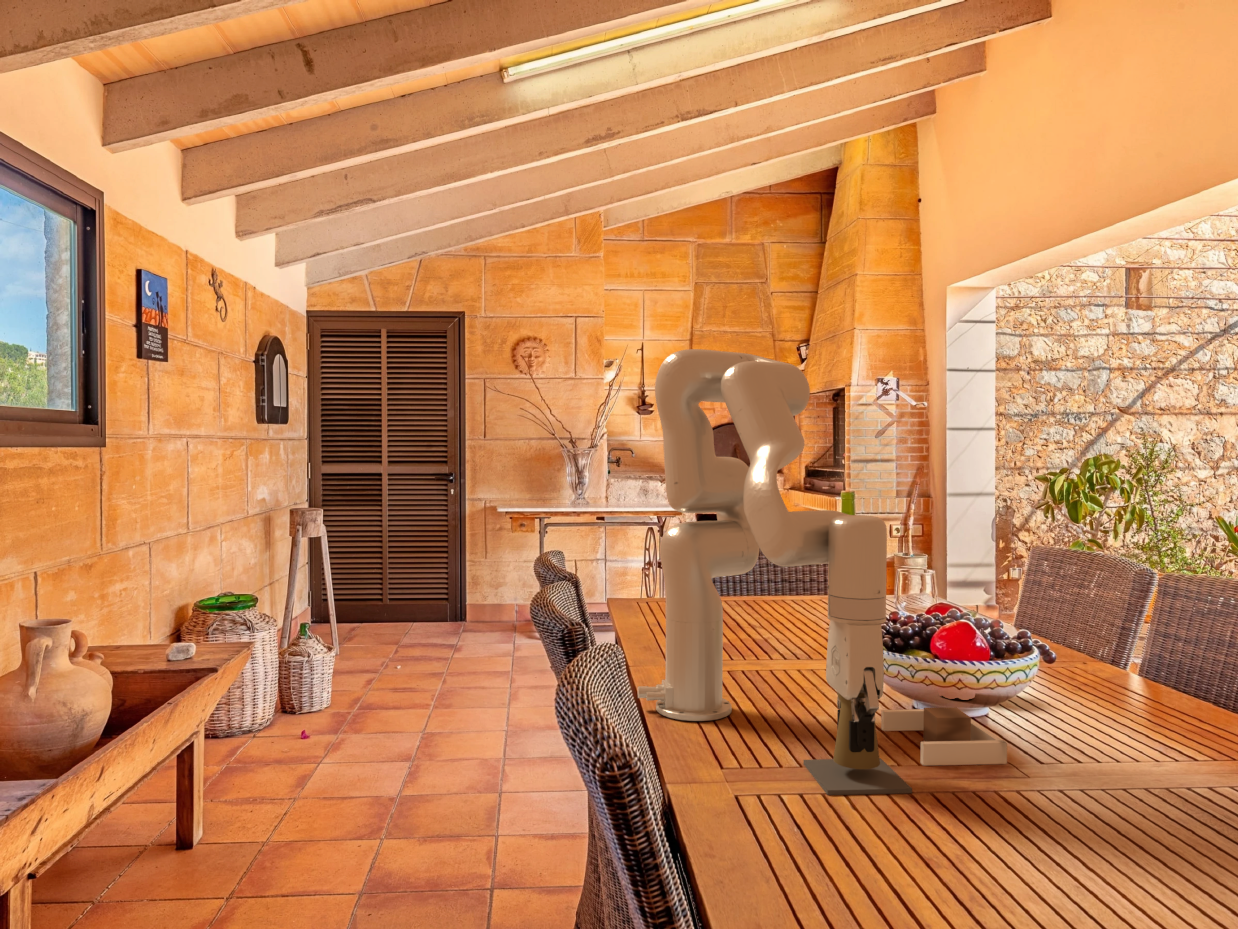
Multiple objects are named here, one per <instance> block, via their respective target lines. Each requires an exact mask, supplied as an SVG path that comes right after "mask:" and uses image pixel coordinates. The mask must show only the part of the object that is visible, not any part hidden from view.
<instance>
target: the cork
mask: <svg viewBox="0 0 1238 929" xmlns="http://www.w3.org/2000/svg"><path fill="white" fill-rule="evenodd" d="M836 694H837V697H838V698H839V700H840V701H841V709H839V710H840V716H839V723H838V730H837V731H836V739H835V746H834V751H833V758H832V759H833V760H834V762H836V763H837V764H839V765H841V766H844V767H848V768H853V769H872V768H876V767H878V766H879V765H880V759H879V758H880V752H879V743H878V735H877V727H876V724H875V725H874V751H873V752H867V751H866V750H865V748H864V749H863V750H862V751H861V752H851V751H850V750H849V721H852V709H851V700H846V699H845V698H844V697H843V696H841V695H840V694H839V693H838V692H837V691H836ZM857 697H865V694H864V693H859V694H858V696H857ZM864 703H865V702H861V703H858V710H859V708H860V706H861V705H864Z"/></svg>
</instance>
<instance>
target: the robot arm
mask: <svg viewBox="0 0 1238 929" xmlns="http://www.w3.org/2000/svg"><path fill="white" fill-rule="evenodd" d="M810 391H811V388H810V382H809V381H808V378H807V377H806V375H805V373H804V372H803V371H802V370H801V369H800V368H799V367H797V366H795V365H794V364H791V363H787V362H783V361H780V360H775V359H771V358H768V357H764V356H760V355H756V354H751V353H746V352H745V353H744V352H736V351H735V352H734V351H726V350H725V351H721V350H712V349H701V348H692V349H691V348H689V349H682V350H681V349H680V350H677V351H674V352H672V353H670V354H669V355H667V356H666V358H664V360H663V361H662V363H661V364H660V366H659V369H658V370H657V374H656V377H655V383H654V394H655V396H654V397H655V403H656V408H657V412H658V416H659V419H660V420H659V421H660V425H661V428H662V441H663V442H662V443H663V444H662V445H663V446H662V447H663V464H664V480H665V491H666V492H665V493H666V499H667V501H668V504H669V506H670V507H671V508H672V509H673V510H674V511H676V512H679V513H684V514H709V513H710V514H711V513H716V519H717V520H699V521H698V520H697V521H695V520H694V521H686V522H681V523H680V522H679V523H677V524H674V525H672V526H671V527H669V528H668V529H667V530H666V531H665V532H664V534H663V535H662V536H661V539H660V543H659V557H660V564H661V568H662V572H663V579H664V591H665V679H661V683H660V684H659V683H658V684H656V685H655V686H648V685H645V686H643V685H641V686H640V685H639V686H637V699H646V701H656V703H655V710H656V712H657V713H659V714H660V715H661V716H664V717H666V718H668V719H669V718H670V719H675V720H679V721H685V722H686V721H687V722H706V721H707V722H708V721H715V720H720V719H723V718H725V717H728V716H729V715H730V714H731V713H732V703H731V702H730V701H728V700H727V699H725V698H723V672H724V671H723V669H724V668H723V664H724V662H723V661H724V660H723V657H724V655H723V653H724V652H723V651H724V649H723V646H724V639H723V638H724V630H723V629H724V626H723V625H724V617H723V616H724V615H723V614H724V609H723V602H722V598H721V595H720V594H719V592H718V590H717V588H716V586H715V584H714V583H713V580H712V579H714V578H720V577H730V576H731V577H732V576H739V575H744V574H747V573H748V572H750V571H751V570H753V569H754V567H755V566H756V564H757V562H758V558H759V554H760V551H761V553H762V554H763V555H764V556H765V558H766V559H767V560H768V561H769V562H770V563H771V564H774V565H776V566H779V567H784V568H785V567H786V568H789V567H799V566H800V567H801V566H809V565H814V566H815V565H826V564H827V619H828V620H829V625H828V634H827V647H826V648H827V649H826V667H825V680H826V683H827V684H828V685H829V686H830V687H831V688H832V689H833V690H835V692H836V693H837V692H838V693H839V694H840V695H841V696H843V697H844V698H845V699H846V700H851V709H852V721H849V750H850V751H851V752H861V751H862V750H863V749H864V748H865V750H866V751H867V752H873V751H874V725H875V726H876V713H877V712H878V711H879V708H880V704H879V699H881V698H882V696H883V694H884V684H885V682H884V680H885V678H884V676H885V673H884V670H885V668H884V665H885V664H884V644H883V633H882V632H883V631H882V624H883V623H886V622H887V563H888V562H887V560H888V559H887V552H888V551H887V548H888V545H887V544H888V543H887V542H888V541H887V540H888V531H887V530H888V528H887V525H886V522H885V521H884V520H883V519H882V518H880V517H878V516H873V515H861V514H859V515H857V514H856V515H855V514H848V513H846V512H843V511H841V512H840V511H836V510H831V509H830V510H828V509H824V510H796V511H789V510H788V508H787V505H786V504H785V502H784V500H783V496H782V495H781V492H780V490H779V489H780V488H779V485H778V478H777V477H778V471H780V470H781V469H783V468H786V466H788V465H789V464H791V463H792V462H794V461H795V460H796V459H797V458H799V456H800V455H801V453H803V451H804V448H805V445H806V444H805V443H806V442H805V438H804V436H803V434H802V432H801V430H800V427H799V426H798V424H797V422H796V419H795V416H798V415H799V414H801V413H802V412H803V411H804V410H805V409H806V407H807V406H808V404H809V401H810V398H811V397H810V395H811V392H810ZM702 402H708V403H709V402H710V403H725V405H726V408H727V410H728V413H729V415H730V417H731V420H732V422H733V424H734V426H735V429H736V432H737V434H738V436H739V438H740V441H741V444H742V446H743V448H744V450H745V453H746V454H747V457H748V459H749V463H750V464H749V465H747V463H745V461H743V460H742V459H741V458H737V457H732V456H717V455H716V451H715V450H716V449H715V445H714V444H715V442H714V440H715V439H714V438H715V437H714V430H713V426H712V424H711V421H710V420H709V418H708V416H707V414H706V412H705V411H704V410H703V409H702V407H700V403H702ZM859 693H864V694H865V697H857V696H858V694H859ZM836 700H837V701H836V706H837V713H836V714H837V718H836V719H837V722H836V723H837V724H836V725H837V726H836V727H837V730H838V723H839V716H840V709H841V701H840V700H839V698H838V696H837V699H836ZM861 702H865V703H864V705H861V706H860V708H859V710H858V703H861Z"/></svg>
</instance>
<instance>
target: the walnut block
mask: <svg viewBox="0 0 1238 929" xmlns="http://www.w3.org/2000/svg"><path fill="white" fill-rule="evenodd" d="M923 709H924V730H923V734H922V735H923V736H922V738H923V742H930V741H971V719H972V718H971V716H970V715H969V714H966V713H965V712H964V711H962V710H961V709H959V708H958V707H956V706H955V707H952V706H951V707H947V706H946V707H923Z"/></svg>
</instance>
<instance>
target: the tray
mask: <svg viewBox="0 0 1238 929" xmlns="http://www.w3.org/2000/svg"><path fill="white" fill-rule="evenodd" d="M880 718H881V721H880V726H881V727H880V729H881V730H882V731H884V732H891V731H894V732H895V731H898V732H899V731H900V732H904V731H906V732H907V731H924V708H921V709H920V708H919V709H917V708H912V709H909V708H908V709H906V708H905V709H881V717H880ZM919 756H920V758H919V759H920V760H919V761H920V764H921V765H922V766H961V765H962V766H964V765H965V766H966V765H969V766H971V765H1007V764H1008V742H1007V741H1006V740H1004V739H1002V738H1001V737H1000V736H998V735H996V734H995V733H993V732H992V731H990V730H989V729H988V728H986V727H984V726H983V725H981V724H979V723H978V722H977V721H975V720H974V719H972V718H971V741H930V742H925V741H920V755H919Z"/></svg>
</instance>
